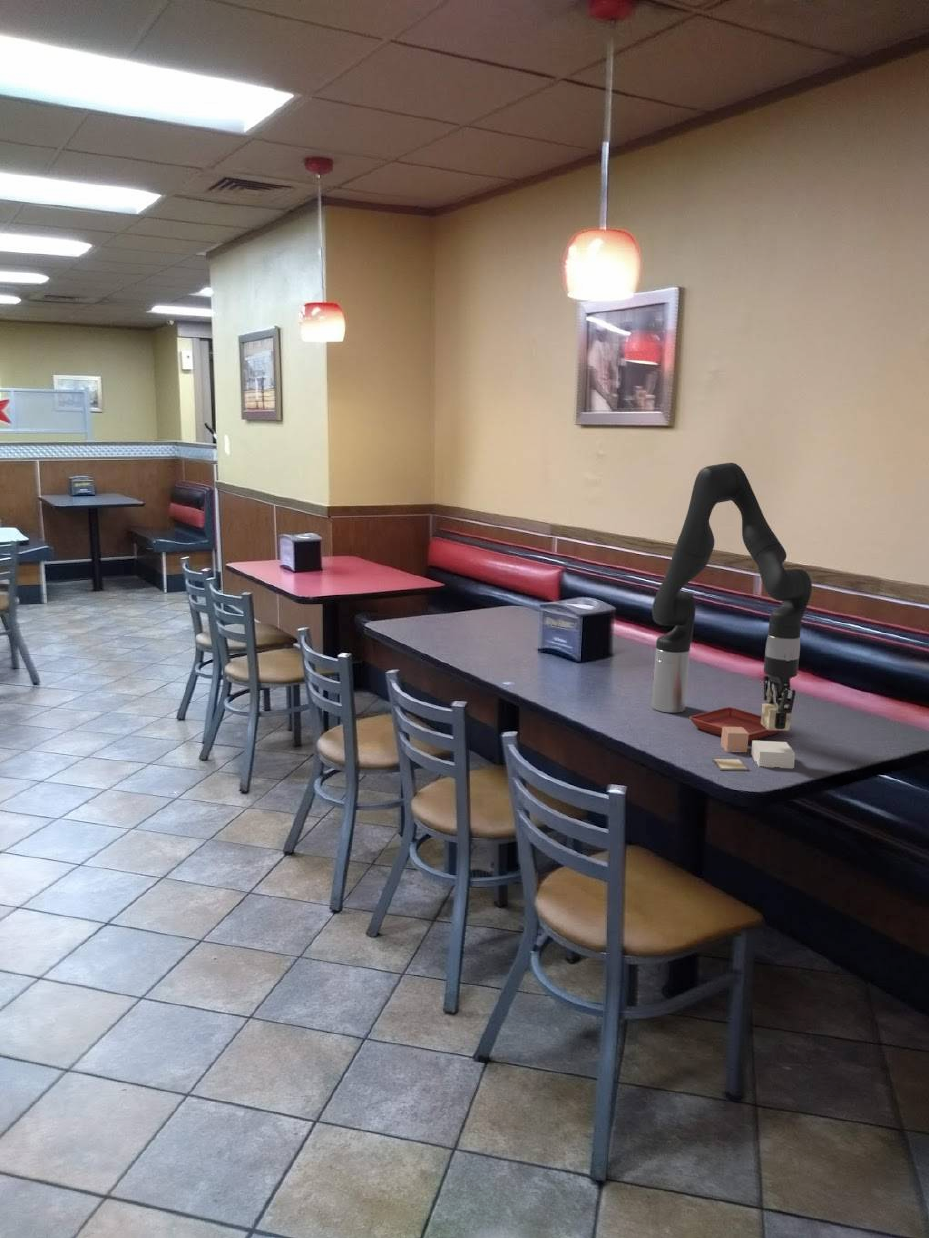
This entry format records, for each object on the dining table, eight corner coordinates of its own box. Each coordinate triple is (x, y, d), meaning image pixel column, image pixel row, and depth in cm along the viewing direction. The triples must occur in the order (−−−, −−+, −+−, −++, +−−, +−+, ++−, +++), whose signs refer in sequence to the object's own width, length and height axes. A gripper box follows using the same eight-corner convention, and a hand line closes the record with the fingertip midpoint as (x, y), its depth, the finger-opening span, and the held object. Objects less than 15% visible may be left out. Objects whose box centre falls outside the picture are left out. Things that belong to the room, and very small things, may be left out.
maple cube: (760, 723, 220) (762, 703, 219) (781, 723, 221) (783, 703, 220) (768, 730, 215) (770, 709, 214) (789, 730, 216) (791, 710, 215)
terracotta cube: (720, 745, 230) (722, 726, 229) (740, 746, 230) (742, 727, 229) (726, 752, 225) (728, 733, 224) (747, 753, 225) (748, 733, 224)
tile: (711, 760, 219) (711, 758, 219) (739, 760, 220) (740, 758, 220) (720, 770, 213) (720, 768, 213) (749, 770, 213) (749, 769, 213)
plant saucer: (728, 717, 255) (729, 705, 254) (786, 734, 241) (787, 722, 241) (686, 728, 244) (687, 716, 243) (745, 747, 230) (746, 735, 229)
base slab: (750, 756, 224) (752, 740, 223) (784, 757, 223) (786, 742, 223) (758, 767, 216) (760, 751, 215) (793, 769, 216) (795, 753, 215)
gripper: (755, 647, 221) (749, 715, 225) (777, 661, 207) (770, 734, 211) (786, 648, 222) (779, 715, 225) (810, 662, 208) (803, 734, 211)
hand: (775, 724), depth 218 cm, fingers closed on maple cube, 5 cm apart
